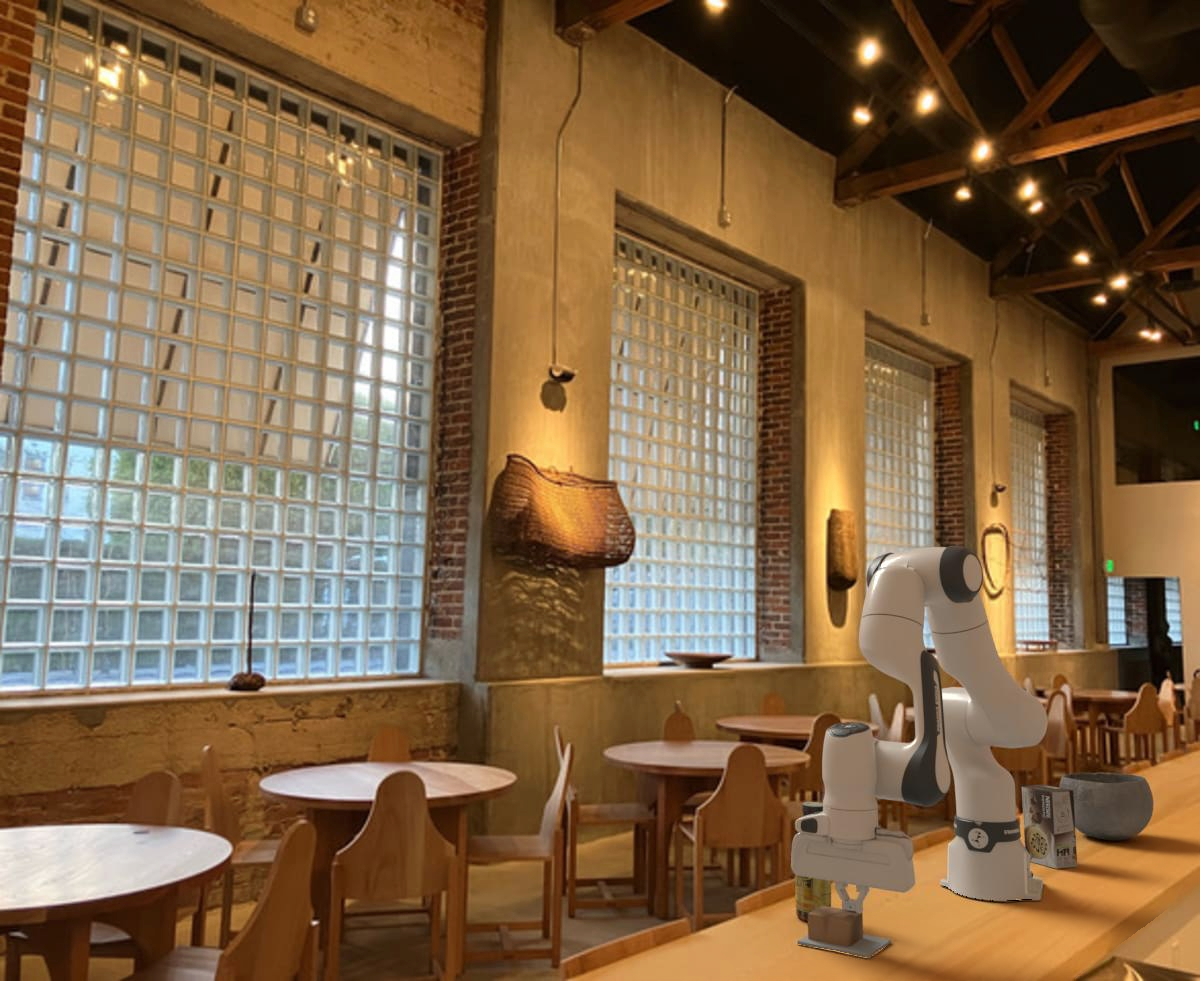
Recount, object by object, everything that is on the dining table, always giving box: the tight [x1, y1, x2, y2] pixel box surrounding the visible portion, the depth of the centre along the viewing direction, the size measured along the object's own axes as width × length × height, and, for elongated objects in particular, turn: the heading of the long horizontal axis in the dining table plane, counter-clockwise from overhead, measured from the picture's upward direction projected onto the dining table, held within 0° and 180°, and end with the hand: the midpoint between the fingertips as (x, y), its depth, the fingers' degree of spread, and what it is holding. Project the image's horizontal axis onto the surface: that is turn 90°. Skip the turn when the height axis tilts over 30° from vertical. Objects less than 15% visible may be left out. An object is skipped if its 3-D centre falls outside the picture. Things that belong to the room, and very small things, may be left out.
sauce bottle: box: [794, 801, 832, 922], centre depth 184 cm, size 7×6×20 cm
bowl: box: [1058, 771, 1154, 841], centre depth 252 cm, size 20×20×15 cm
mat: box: [797, 933, 892, 958], centre depth 169 cm, size 10×12×1 cm
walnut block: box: [807, 906, 864, 947], centre depth 170 cm, size 6×4×7 cm
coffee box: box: [1021, 784, 1078, 870], centre depth 226 cm, size 9×6×16 cm
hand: (852, 911), depth 168 cm, fingers closed
